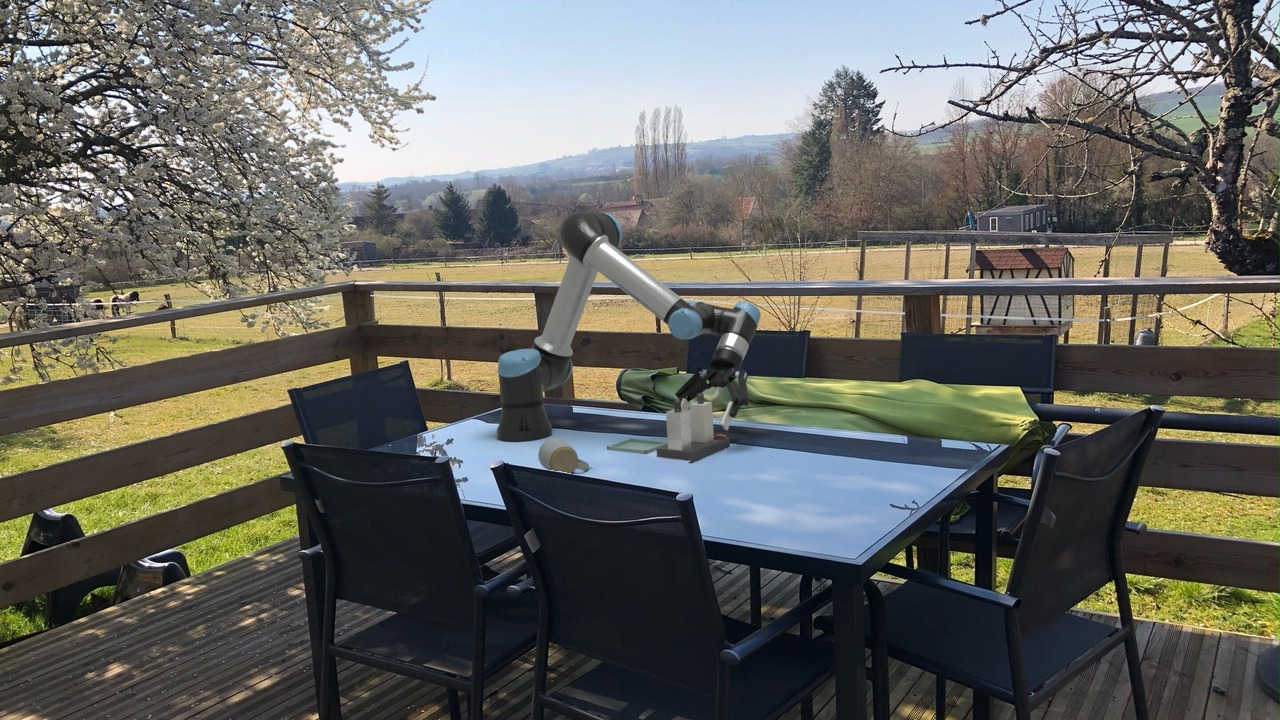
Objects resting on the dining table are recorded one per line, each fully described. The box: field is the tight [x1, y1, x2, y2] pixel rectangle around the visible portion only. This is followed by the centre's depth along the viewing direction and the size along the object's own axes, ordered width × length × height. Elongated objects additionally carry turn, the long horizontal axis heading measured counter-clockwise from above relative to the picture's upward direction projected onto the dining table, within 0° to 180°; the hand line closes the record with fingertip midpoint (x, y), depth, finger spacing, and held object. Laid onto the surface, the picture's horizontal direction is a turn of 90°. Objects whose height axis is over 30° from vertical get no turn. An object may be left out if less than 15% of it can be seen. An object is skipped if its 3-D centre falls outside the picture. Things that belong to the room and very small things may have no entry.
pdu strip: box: [656, 399, 731, 464], centre depth 215 cm, size 10×17×14 cm, turn 144°
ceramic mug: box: [538, 437, 590, 474], centre depth 204 cm, size 11×8×8 cm
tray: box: [606, 437, 668, 455], centre depth 222 cm, size 12×10×1 cm
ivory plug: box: [689, 392, 715, 443], centre depth 218 cm, size 4×4×13 cm
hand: (700, 425), depth 217 cm, fingers open, 13 cm apart
